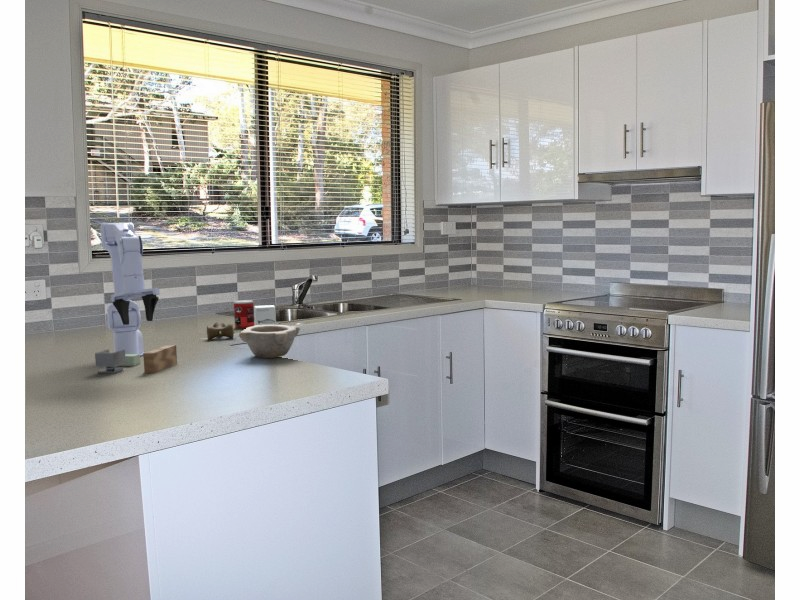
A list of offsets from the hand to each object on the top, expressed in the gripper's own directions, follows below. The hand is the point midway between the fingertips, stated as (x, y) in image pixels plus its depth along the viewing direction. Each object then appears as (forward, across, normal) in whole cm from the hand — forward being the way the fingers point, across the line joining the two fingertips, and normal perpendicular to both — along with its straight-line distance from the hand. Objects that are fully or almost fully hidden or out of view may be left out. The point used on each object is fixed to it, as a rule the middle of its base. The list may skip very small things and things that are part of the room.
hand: (137, 322), depth 207 cm
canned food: (-1, -6, +89) cm, 89 cm away
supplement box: (+7, +15, +59) cm, 61 cm away
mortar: (+14, +28, +30) cm, 43 cm away
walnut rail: (+14, +1, +8) cm, 16 cm away
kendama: (+4, -5, +64) cm, 64 cm away
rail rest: (+11, -12, +13) cm, 21 cm away
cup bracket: (+13, -12, +3) cm, 18 cm away
